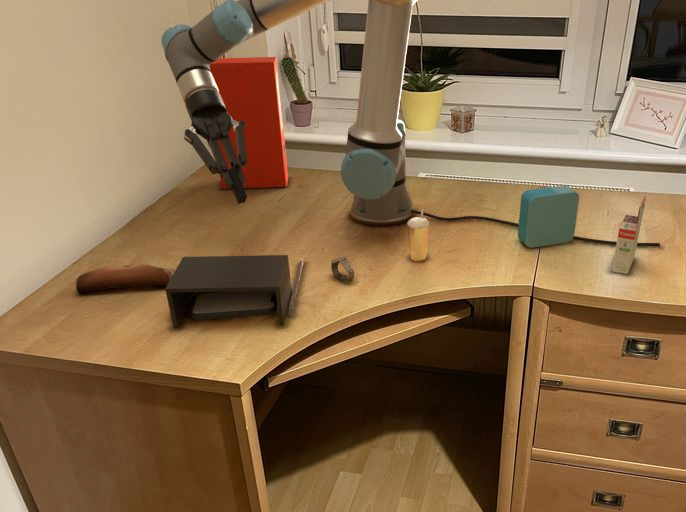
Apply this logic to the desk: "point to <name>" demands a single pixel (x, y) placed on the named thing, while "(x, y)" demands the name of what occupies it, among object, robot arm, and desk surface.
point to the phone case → (233, 304)
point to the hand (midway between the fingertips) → (242, 199)
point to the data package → (548, 216)
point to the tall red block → (254, 117)
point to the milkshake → (418, 237)
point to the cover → (228, 280)
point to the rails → (295, 289)
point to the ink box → (627, 241)
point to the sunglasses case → (123, 277)
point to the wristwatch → (346, 265)
